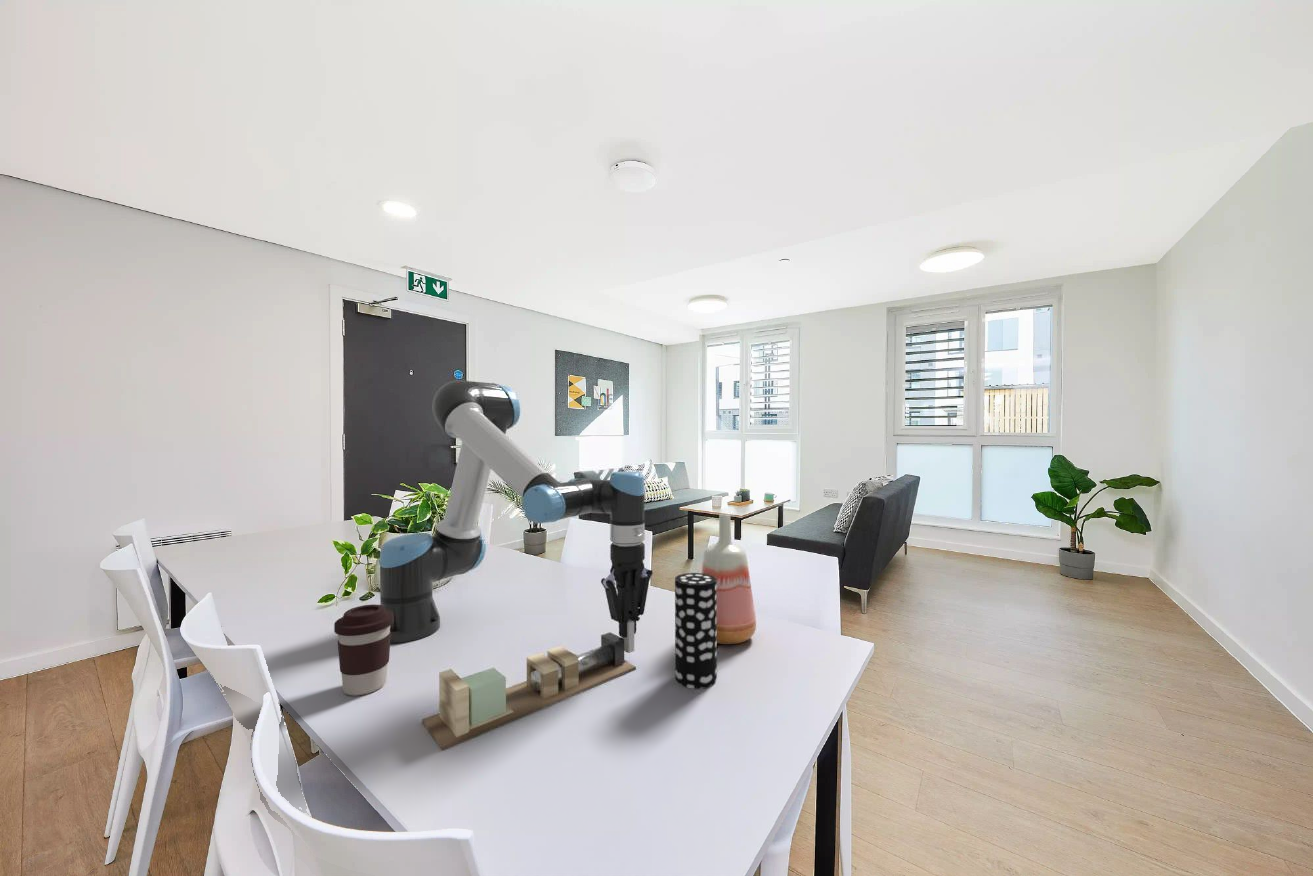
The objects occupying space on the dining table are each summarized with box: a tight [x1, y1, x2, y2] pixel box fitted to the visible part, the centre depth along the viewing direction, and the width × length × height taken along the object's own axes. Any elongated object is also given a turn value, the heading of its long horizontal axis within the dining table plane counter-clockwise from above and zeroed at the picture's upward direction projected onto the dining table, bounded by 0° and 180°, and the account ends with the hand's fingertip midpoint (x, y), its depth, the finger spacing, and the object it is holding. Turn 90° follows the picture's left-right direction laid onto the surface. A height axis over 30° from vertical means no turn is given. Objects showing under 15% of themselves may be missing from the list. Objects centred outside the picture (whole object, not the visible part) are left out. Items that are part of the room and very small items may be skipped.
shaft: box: [530, 632, 625, 691], centre depth 99 cm, size 5×19×5 cm, turn 132°
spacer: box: [460, 667, 507, 725], centre depth 85 cm, size 5×6×6 cm
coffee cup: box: [333, 604, 394, 696], centre depth 95 cm, size 10×10×15 cm
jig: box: [421, 645, 637, 751], centre depth 93 cm, size 10×39×8 cm, turn 132°
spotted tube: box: [674, 572, 718, 690], centre depth 98 cm, size 8×8×20 cm
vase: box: [701, 513, 757, 645], centre depth 118 cm, size 14×14×30 cm
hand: (627, 650), depth 107 cm, fingers closed
